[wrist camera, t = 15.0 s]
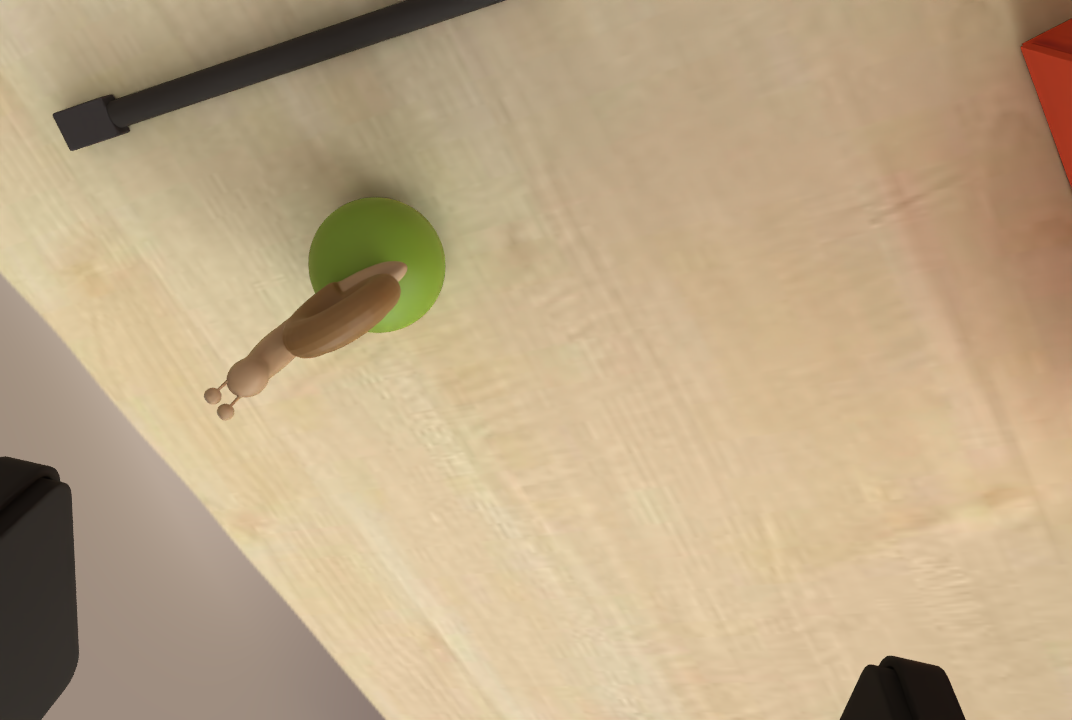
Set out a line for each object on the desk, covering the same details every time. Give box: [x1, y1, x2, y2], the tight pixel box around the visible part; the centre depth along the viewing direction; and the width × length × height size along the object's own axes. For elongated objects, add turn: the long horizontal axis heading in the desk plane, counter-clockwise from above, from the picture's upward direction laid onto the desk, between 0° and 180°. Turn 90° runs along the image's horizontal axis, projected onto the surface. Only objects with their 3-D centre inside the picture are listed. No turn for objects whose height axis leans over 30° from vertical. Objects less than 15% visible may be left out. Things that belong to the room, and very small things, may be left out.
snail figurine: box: [204, 197, 445, 420], centre depth 33 cm, size 5×6×12 cm
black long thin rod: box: [53, 0, 505, 151], centre depth 35 cm, size 21×2×1 cm, turn 107°
